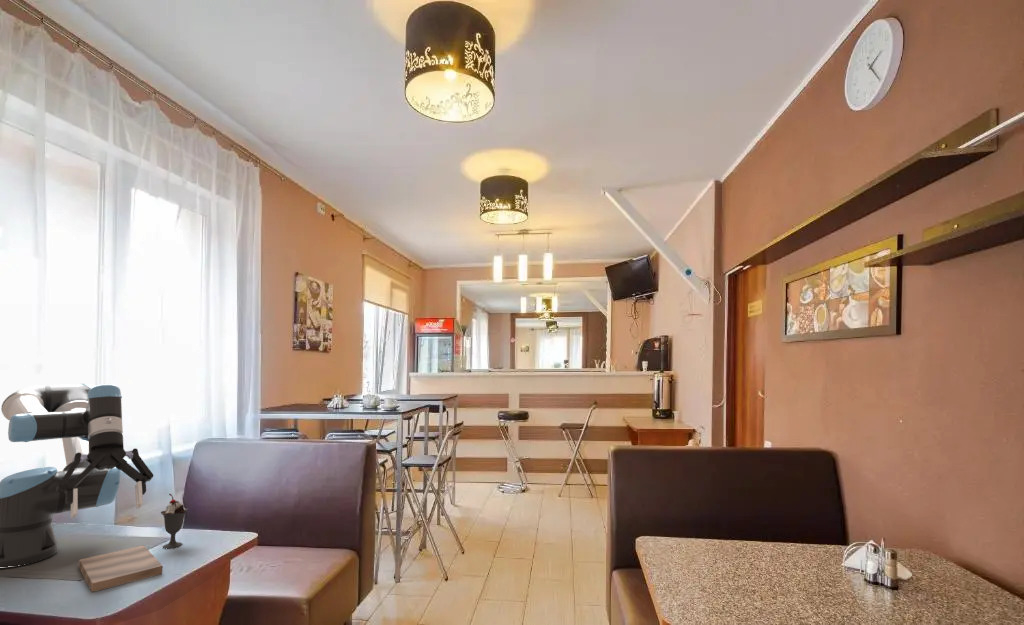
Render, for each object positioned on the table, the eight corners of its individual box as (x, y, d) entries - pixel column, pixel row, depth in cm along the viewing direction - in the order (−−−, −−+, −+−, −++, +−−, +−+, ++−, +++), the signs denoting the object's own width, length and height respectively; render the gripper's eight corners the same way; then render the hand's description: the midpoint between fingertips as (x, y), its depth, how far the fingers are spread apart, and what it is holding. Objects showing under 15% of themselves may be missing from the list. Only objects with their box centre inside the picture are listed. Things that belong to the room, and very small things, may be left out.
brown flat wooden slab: (78, 567, 132) (79, 559, 132) (143, 552, 142) (143, 545, 142) (91, 592, 118) (92, 583, 118) (162, 573, 128) (162, 565, 129)
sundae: (160, 543, 149) (164, 492, 150) (187, 540, 151) (190, 489, 153) (155, 551, 143) (159, 497, 144) (183, 548, 145) (187, 495, 147)
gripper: (49, 432, 128) (47, 514, 118) (162, 427, 147) (168, 497, 137) (42, 446, 131) (39, 526, 121) (153, 439, 150) (159, 508, 141)
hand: (108, 511), depth 129 cm, fingers open, 13 cm apart
